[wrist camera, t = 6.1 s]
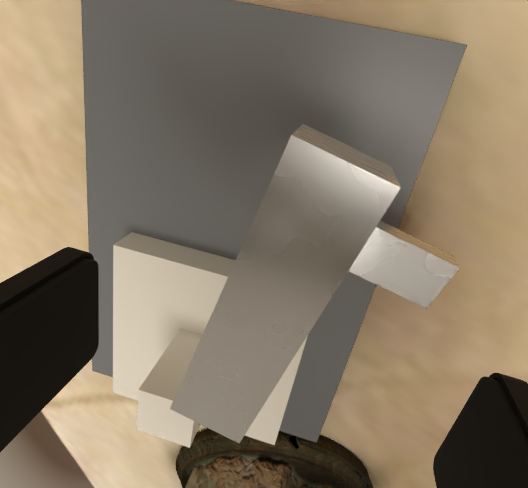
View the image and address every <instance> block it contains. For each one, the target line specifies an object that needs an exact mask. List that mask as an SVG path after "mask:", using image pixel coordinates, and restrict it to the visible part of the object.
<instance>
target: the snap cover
mask: <svg viewBox="0 0 528 488" xmlns="http://www.w3.org/2000/svg"><path fill="white" fill-rule="evenodd" d="M235 261H236V260H233V259H229V258H226V257H222V256H218V255H215V254H211V253H207V252H204V251H200V250H196V249H192V248H189V247H185V246H181V245H178V244H174V243H170V242H167V241H163V240H159V239H156V238H152V237H148V236H145V235H141V234H137V233H134V232H131V233H130V234H128V235H127V236H125V237H124V238H123V239H121V240H120V241H118V242H117V243H115V244H114V245H113V393H116V394H119V395H122V396H125V397H128V398H131V399H134V400H137V401H138V409H137V430H138V431H141V432H144V433H147V434H150V435H153V436H156V437H159V438H162V439H165V440H168V441H171V442H174V443H177V444H180V445H183V446H186V447H189V448H190V447H191V444H192V442H193V440H194V437H195V435H196V433H197V430H198V428H199V426H200V424H199V423H197V422H195V421H193V420H191V419H189V418H187V417H185V416H183V415H181V414H179V413H177V412H175V411H173V410H171V409H170V407H171V404H172V402H173V400H174V398H175V395H176V393H177V391H178V389H179V386H180V384H181V382H182V380H183V377H184V375H185V373H186V371H187V368H188V366H189V364H190V362H191V359H192V357H193V355H194V353H195V350H196V348H197V346H198V344H199V341H200V339H201V337H202V335H203V332H204V330H205V328H206V326H207V324H208V321H209V319H210V317H211V315H212V312H213V310H214V308H215V306H216V303H217V301H218V299H219V297H220V294H221V292H222V290H223V288H224V285H225V283H226V281H227V279H228V276H229V274H230V272H231V270H232V267H233V265H234V263H235ZM306 340H307V337H306V339H305V340H304V342H303V344H302V345H301V347H300V348H299V350H298V351H297V353H296V355H295V356H294V358H293V359H292V361H291V363H290V364H289V366H288V367H287V369H286V370H285V372H284V374H283V375H282V377H281V378H280V380H279V382H278V383H277V385H276V386H275V388H274V390H273V391H272V393H271V394H270V396H269V397H268V399H267V401H266V402H265V404H264V405H263V407H262V409H261V410H260V412H259V413H258V415H257V416H256V418H255V420H254V421H253V423H252V424H251V426H250V428H249V429H248V431H247V432H246V434H245V436H248V437H251V438H254V439H257V440H260V441H263V442H266V443H269V444H272V445H275V442H276V439H277V435H278V432H279V429H280V426H281V422H282V419H283V416H284V412H285V409H286V406H287V402H288V399H289V396H290V393H291V389H292V386H293V383H294V379H295V376H296V373H297V369H298V366H299V363H300V360H301V356H302V353H303V350H304V346H305V343H306Z"/></svg>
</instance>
